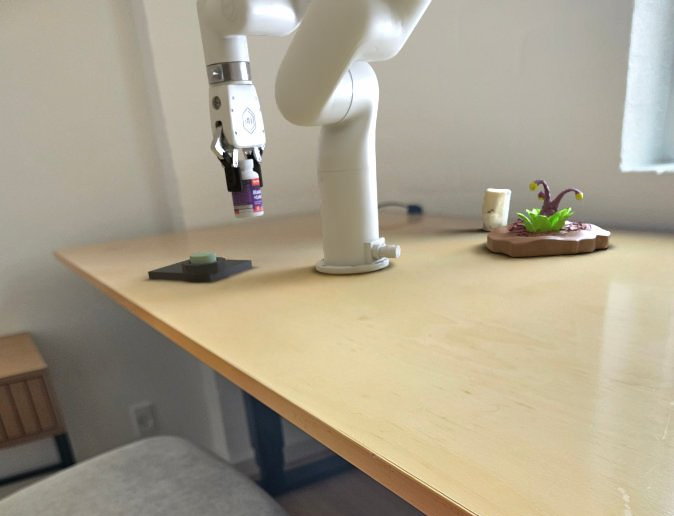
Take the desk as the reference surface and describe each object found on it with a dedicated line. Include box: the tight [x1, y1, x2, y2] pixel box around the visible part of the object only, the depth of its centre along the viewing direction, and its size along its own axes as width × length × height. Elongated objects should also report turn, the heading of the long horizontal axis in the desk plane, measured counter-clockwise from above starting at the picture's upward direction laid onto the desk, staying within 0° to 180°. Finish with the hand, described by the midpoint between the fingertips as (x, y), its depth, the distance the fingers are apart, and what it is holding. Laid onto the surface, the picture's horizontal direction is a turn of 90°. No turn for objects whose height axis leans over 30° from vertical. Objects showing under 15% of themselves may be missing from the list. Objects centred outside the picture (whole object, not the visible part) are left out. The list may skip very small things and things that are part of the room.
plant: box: [486, 179, 611, 258], centre depth 115 cm, size 20×20×11 cm
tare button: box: [189, 251, 217, 264], centre depth 112 cm, size 4×4×2 cm
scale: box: [147, 256, 253, 283], centre depth 116 cm, size 15×13×3 cm
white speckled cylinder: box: [481, 188, 512, 232], centre depth 136 cm, size 6×5×8 cm
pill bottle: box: [230, 159, 264, 219], centre depth 121 cm, size 5×5×10 cm
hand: (245, 188), depth 121 cm, fingers closed on pill bottle, 5 cm apart
